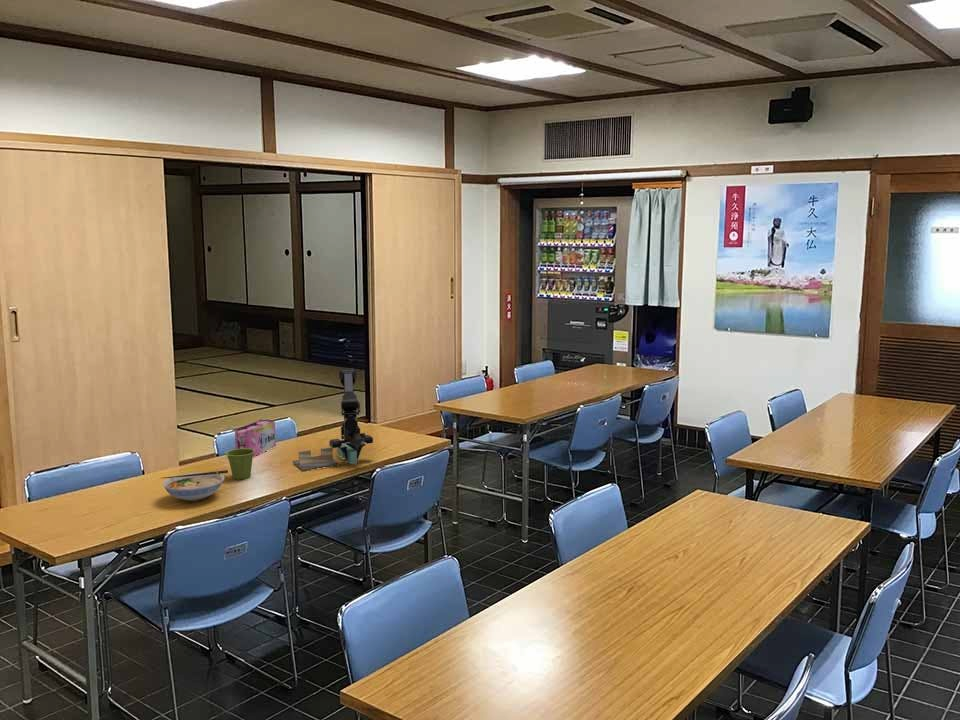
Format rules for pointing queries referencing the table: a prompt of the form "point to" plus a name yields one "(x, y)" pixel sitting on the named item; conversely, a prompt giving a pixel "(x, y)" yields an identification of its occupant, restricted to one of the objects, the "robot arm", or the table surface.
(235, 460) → the plant pot
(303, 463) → the slotted base
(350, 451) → the teal slotted plate
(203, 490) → the ramen bowl
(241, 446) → the gum box
